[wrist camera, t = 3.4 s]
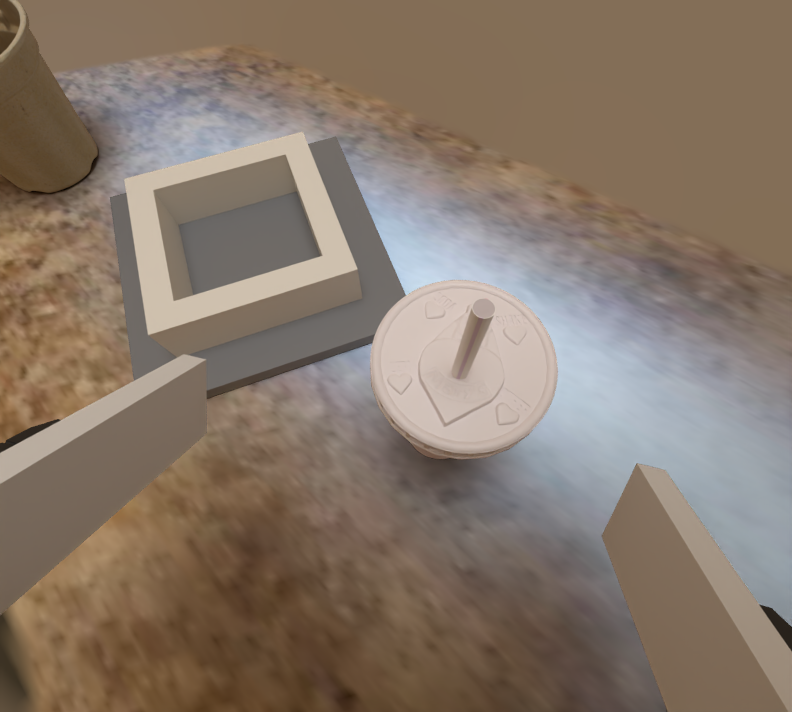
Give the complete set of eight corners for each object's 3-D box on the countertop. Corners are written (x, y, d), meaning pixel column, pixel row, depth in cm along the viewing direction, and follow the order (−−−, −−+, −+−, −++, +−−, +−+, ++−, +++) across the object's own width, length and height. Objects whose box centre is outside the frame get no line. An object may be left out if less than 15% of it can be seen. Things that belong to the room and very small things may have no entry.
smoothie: (364, 462, 22) (313, 369, 9) (401, 357, 24) (402, 162, 11) (481, 502, 21) (609, 462, 8) (508, 389, 23) (640, 218, 11)
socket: (415, 327, 25) (418, 292, 21) (149, 418, 23) (100, 397, 19) (337, 148, 31) (329, 96, 27) (119, 207, 29) (77, 160, 25)
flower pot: (59, 232, 28) (-76, 115, 20) (-40, 187, 30) (-201, 63, 22) (147, 141, 31) (61, 10, 23) (53, 106, 33) (-57, -29, 25)
